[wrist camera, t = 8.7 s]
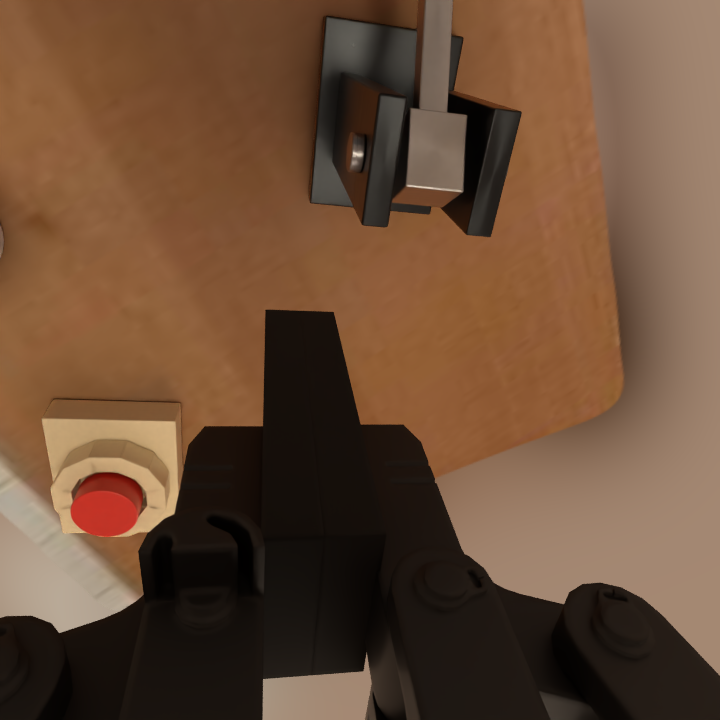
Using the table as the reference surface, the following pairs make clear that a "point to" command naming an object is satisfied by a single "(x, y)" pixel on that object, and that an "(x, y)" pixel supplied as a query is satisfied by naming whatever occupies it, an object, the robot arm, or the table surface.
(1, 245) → the coffee cup
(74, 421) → the button housing
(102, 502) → the stop button
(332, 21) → the lever bracket
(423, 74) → the press lever
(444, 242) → the table surface
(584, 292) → the table surface
